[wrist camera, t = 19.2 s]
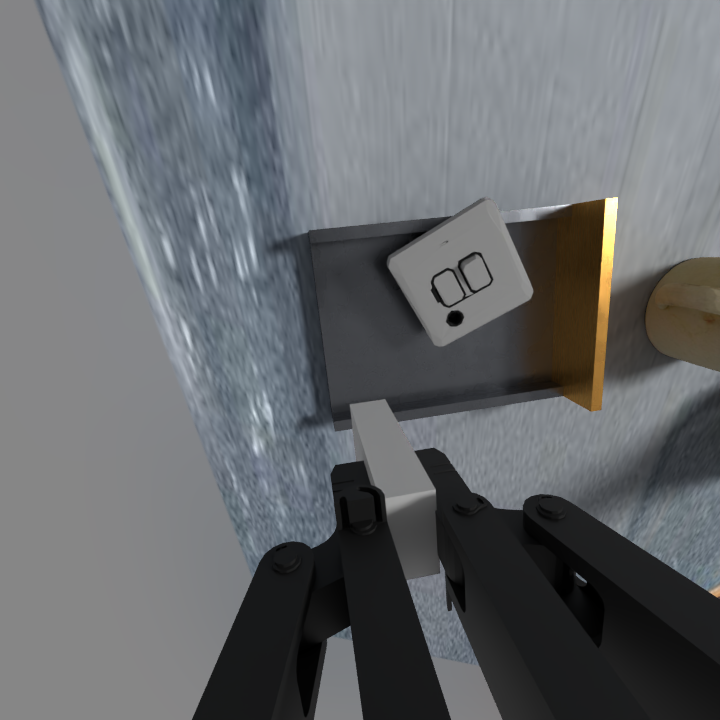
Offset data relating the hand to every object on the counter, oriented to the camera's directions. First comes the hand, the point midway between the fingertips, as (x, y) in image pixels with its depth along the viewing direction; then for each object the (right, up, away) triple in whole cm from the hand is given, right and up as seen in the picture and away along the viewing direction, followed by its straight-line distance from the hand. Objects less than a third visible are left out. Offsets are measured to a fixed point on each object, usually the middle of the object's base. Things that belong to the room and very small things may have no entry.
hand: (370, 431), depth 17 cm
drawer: (+8, +8, +23) cm, 25 cm away
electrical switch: (+10, +9, +21) cm, 25 cm away
